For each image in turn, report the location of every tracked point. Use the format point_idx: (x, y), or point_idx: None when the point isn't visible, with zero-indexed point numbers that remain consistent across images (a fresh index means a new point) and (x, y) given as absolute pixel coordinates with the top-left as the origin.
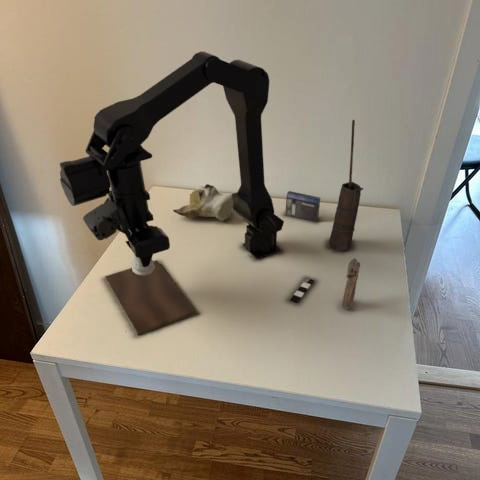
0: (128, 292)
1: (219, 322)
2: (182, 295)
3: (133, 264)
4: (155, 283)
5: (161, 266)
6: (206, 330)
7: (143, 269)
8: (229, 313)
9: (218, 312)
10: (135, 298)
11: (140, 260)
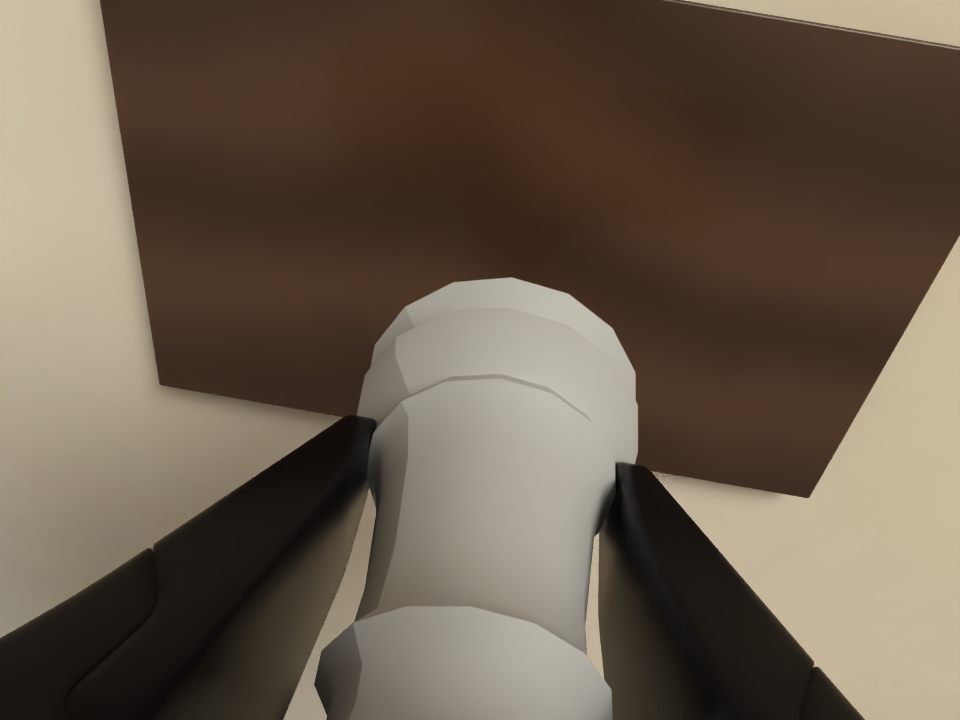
0: (635, 132)
1: (53, 423)
2: (340, 413)
3: (506, 352)
4: None
5: (717, 481)
6: (8, 339)
7: (364, 388)
8: (106, 492)
9: (136, 462)
10: (520, 140)
11: (303, 477)
